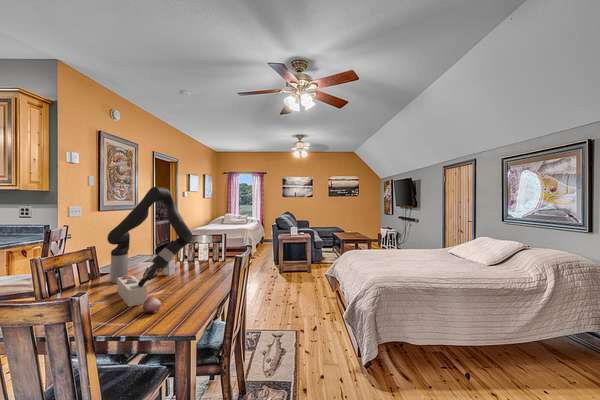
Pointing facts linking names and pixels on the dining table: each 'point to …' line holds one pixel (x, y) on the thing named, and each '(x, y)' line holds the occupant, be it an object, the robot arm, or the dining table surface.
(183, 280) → the dining table surface
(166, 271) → the syrup box
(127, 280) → the slate button
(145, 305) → the onion
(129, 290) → the block
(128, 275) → the terracotta button
